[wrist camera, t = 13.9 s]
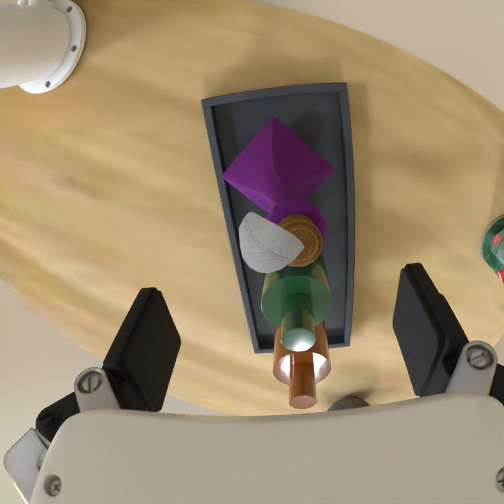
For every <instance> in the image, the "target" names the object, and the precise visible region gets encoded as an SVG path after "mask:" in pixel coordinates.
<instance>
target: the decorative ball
mask: <svg viewBox="0 0 504 504" xmlns="http://www.w3.org/2000/svg"><path fill="white" fill-rule="evenodd" d="M368 406H370V405H369V404H368V403H367V402H365V401H363V400H361V399H357V398H346V399H343V400H340V401H338V402H336V403H335V404H333V405H332V406H331V407H330V408H329V409H328V411H327V412H329V411H338V410H346V409H354V408H361V407H368Z"/></svg>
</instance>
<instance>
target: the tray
mask: <svg viewBox="0 0 504 504" xmlns="http://www.w3.org/2000/svg"><path fill="white" fill-rule="evenodd" d="M201 103H202V107H203V113H204V118H205V123H206V128H207V133H208V138H209V143H210V148H211V153H212V158H213V163H214V168H215V173H216V178H217V183H218V188H219V193H220V198H221V202H222V207H223V212H224V217H225V221H226V226H227V231H228V236H229V240H230V245H231V250H232V254H233V259H234V263H235V268H236V273H237V277H238V282H239V286H240V291H241V295H242V300H243V304H244V309H245V313H246V318H247V322H248V326H249V331H250V335H251V339H252V344H253V348H254V353H274V329H275V325H274V324H272V323H271V322H270V321H268V320H267V318H266V317H265V316H264V314H263V312H262V309H261V297H262V286H263V275H264V273H261V272H257V271H255V270H254V269H252V268H250V267H249V266H248V265H247V263H246V262H245V260H244V259H243V257H242V253H241V248H240V238H239V227H240V225H241V223H242V221H243V219H244V217H245V216H246V215H247V214H248V213H249V212H254V213H256V214H257V215H259V216H261V217H263V218H264V219H265V218H266V217H267V215H268V214H269V213H267V212H266V211H265V210H263V209H262V208H261V207H260V206H258V205H257V204H256V203H254V202H253V201H252V200H251V199H249V198H248V197H247V196H245V195H244V194H243V193H241V192H240V191H239V190H237V189H236V188H235V187H234V186H232V185H231V184H230V183H228V182H227V181H226V180H224V179H223V177H222V176H223V174H224V172H225V171H226V170H227V169H228V168H229V166H230V165H231V164H232V163H233V161H234V160H235V159H236V158H237V157H238V155H239V154H240V153H241V152H242V151H243V149H244V148H245V147H246V146H247V145H248V143H249V142H250V141H251V140H252V139H253V138H254V136H255V135H256V134H257V133H258V132H259V130H260V129H261V128H262V127H263V126H264V125H265V124H266V122H267V121H268V120H269V119H270V118H271V117H276V118H277V119H278V120H279V121H280V122H282V123H283V124H284V125H285V126H287V127H288V128H289V129H290V130H291V131H293V132H294V133H295V134H296V135H297V136H299V137H300V138H301V139H302V140H303V141H304V142H306V143H307V144H308V145H309V146H310V147H311V148H313V149H314V150H315V151H316V152H317V153H318V154H319V155H320V156H322V157H323V158H324V159H325V160H326V161H327V162H328V163H329V164H330V165H331V166H333V167H334V171H333V173H332V174H331V175H330V176H329V177H328V178H327V179H326V180H325V181H324V182H323V183H322V184H321V185H320V186H319V187H318V188H317V189H316V190H315V191H314V192H313V193H312V194H311V195H310V196H309V197H308V198H307V199H306V200H307V201H309V202H311V203H312V204H314V205H316V206H317V207H319V208H320V210H321V212H322V214H323V216H324V218H325V220H326V228H325V238H324V240H323V244H322V250H323V255H324V259H325V264H326V269H327V274H328V278H329V283H330V288H331V293H332V299H333V304H332V309H331V311H330V313H329V315H328V316H327V317H326V318H325V324H326V331H327V339H328V346H329V348H337V347H346V346H350V336H351V324H352V309H353V292H354V267H355V189H354V164H353V147H352V133H351V121H350V110H349V100H348V92H347V83H324V84H309V85H297V86H286V87H277V88H269V89H261V90H254V91H247V92H240V93H234V94H228V95H223V96H217V97H212V98H207V99H202V100H201Z"/></svg>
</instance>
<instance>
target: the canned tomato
mask: <svg viewBox="0 0 504 504" xmlns="http://www.w3.org/2000/svg"><path fill="white" fill-rule="evenodd" d="M481 254H482V257H483V259H484V261H485V262H486V263H488V265H489V266H490V267H491V268H492V269H493V271H494V272H495V273H496V274H497V275H498V277H499V278H500V279H501V281H502V282H503V283H504V215H503V216H500V217H498V218H497V219H496V220H494V221H493V222H492V223H491V224H490V226H489V227H488V228H487V230H486V232H485V234H484V236H483V239H482V243H481Z"/></svg>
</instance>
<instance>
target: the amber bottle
mask: <svg viewBox="0 0 504 504" xmlns="http://www.w3.org/2000/svg"><path fill="white" fill-rule="evenodd" d="M315 333H316V341H315V344H314V345H313V346H312V347H311V348H309V349H307V350H304V351H291V350H288V349H286V348H285V347H284V346H283V345H282V343H281V328H280V327H277V326H275V329H274V353H273V374H274V376H275V377H276V378H277V379H278V380H279V381H280V382H282V383H284V384H287V385H289V404H290V406H292V407H293V408H297V409H306V408H310V407H312V406H314V405H315V404H316V384H315V383H318V382H320V381H322V380H323V379H325V378H326V377H327V376H328V374H329V373H330V370H331V363H330V355H329V346H328V339H327V331H326V324H325V319H324V320H323V321H322V322H321V323H319V324H318V325H316V326H315Z"/></svg>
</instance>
